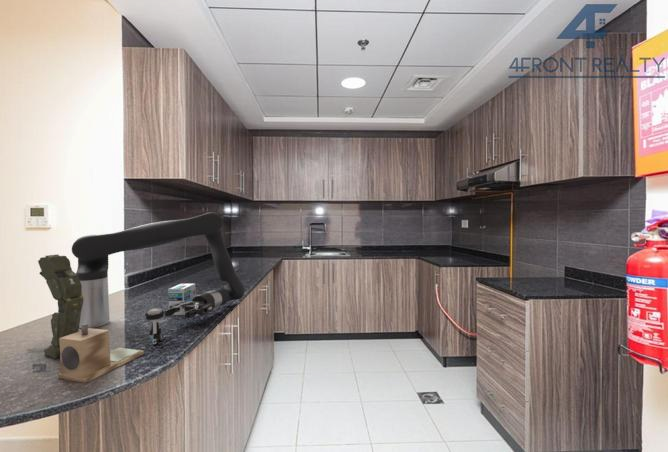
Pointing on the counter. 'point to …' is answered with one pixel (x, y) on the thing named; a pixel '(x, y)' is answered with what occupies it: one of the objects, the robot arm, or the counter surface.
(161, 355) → the counter surface
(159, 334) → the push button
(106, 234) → the robot arm
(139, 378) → the counter surface
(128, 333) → the counter surface
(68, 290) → the mechanical leg
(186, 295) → the light bulb box
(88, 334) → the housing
